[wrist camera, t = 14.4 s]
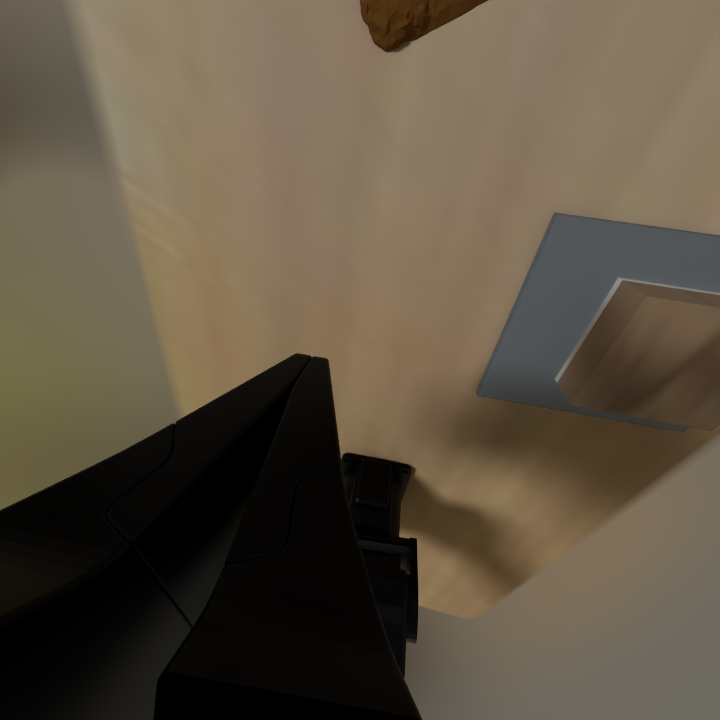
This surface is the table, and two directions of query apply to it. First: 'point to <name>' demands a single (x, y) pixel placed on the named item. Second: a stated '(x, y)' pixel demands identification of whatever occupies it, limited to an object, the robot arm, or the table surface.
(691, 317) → the tile
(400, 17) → the primitive tool
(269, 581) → the robot arm
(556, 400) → the mat
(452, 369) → the table surface
